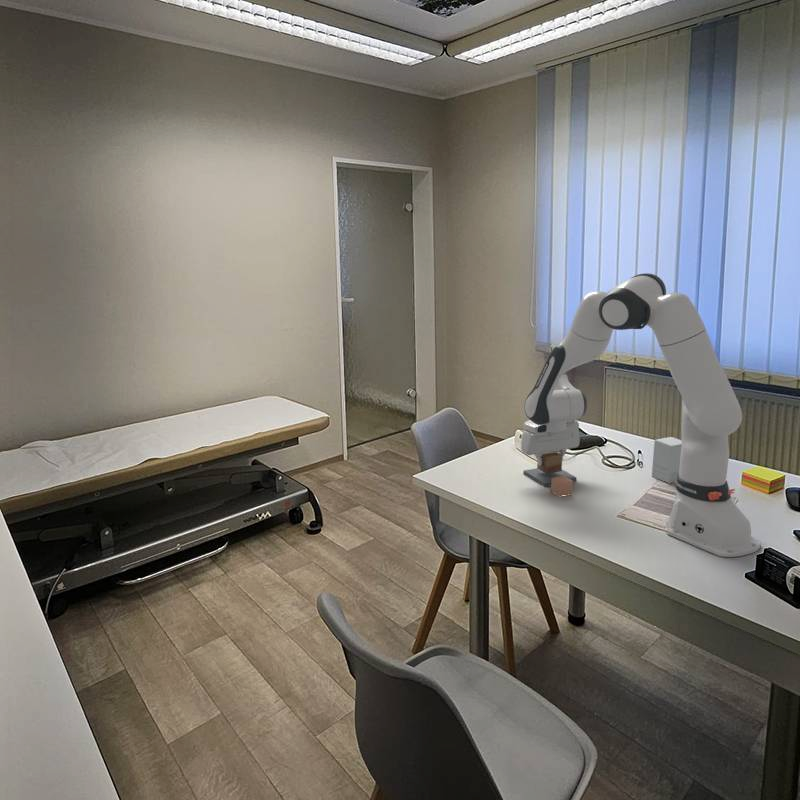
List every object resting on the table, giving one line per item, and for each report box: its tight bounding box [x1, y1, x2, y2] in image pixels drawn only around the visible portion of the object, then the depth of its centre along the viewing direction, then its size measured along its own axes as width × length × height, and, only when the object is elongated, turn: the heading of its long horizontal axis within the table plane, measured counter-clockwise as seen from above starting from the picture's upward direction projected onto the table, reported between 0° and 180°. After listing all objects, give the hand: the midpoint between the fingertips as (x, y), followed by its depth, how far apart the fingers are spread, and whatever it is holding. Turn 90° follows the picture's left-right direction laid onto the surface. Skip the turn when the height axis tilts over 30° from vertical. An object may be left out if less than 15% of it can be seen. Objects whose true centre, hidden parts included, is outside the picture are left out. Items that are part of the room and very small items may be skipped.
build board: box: [523, 467, 577, 488], centre depth 198 cm, size 12×12×1 cm
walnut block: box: [536, 451, 563, 474], centre depth 197 cm, size 6×6×6 cm
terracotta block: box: [550, 476, 574, 497], centre depth 186 cm, size 4×4×4 cm
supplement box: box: [651, 436, 682, 484], centre depth 194 cm, size 7×7×13 cm
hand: (549, 463), depth 197 cm, fingers closed on walnut block, 5 cm apart
